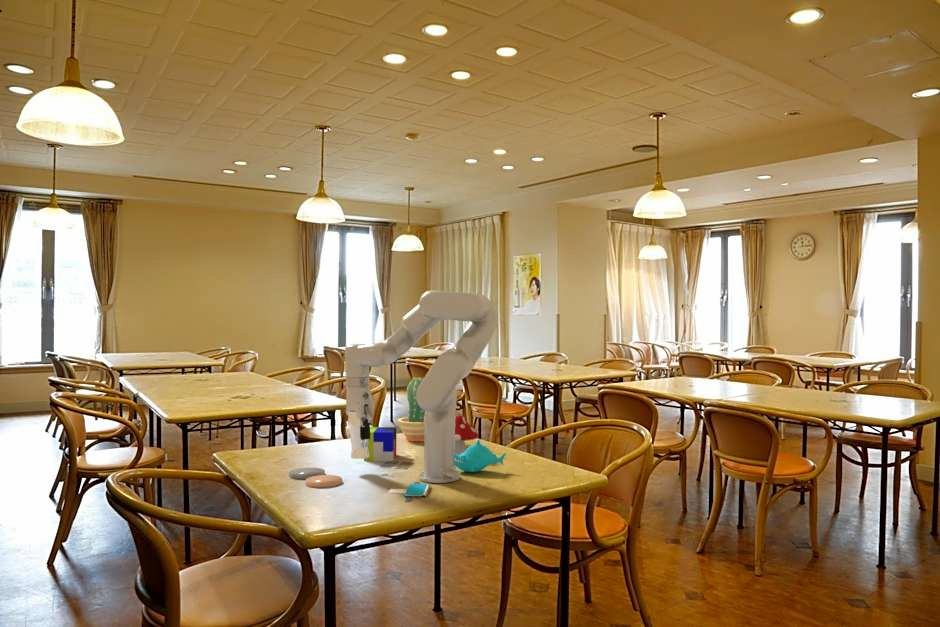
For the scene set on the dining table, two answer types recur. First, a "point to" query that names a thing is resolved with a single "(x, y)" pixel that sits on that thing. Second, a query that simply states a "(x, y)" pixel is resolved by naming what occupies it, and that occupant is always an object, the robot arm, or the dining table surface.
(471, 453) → the toy shark
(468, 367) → the robot arm
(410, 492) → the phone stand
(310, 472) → the slate coaster
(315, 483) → the terracotta coaster
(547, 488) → the dining table surface
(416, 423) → the potted cactus
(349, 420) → the beer glass
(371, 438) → the puzzle toy
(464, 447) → the decorative mushroom
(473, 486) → the dining table surface
